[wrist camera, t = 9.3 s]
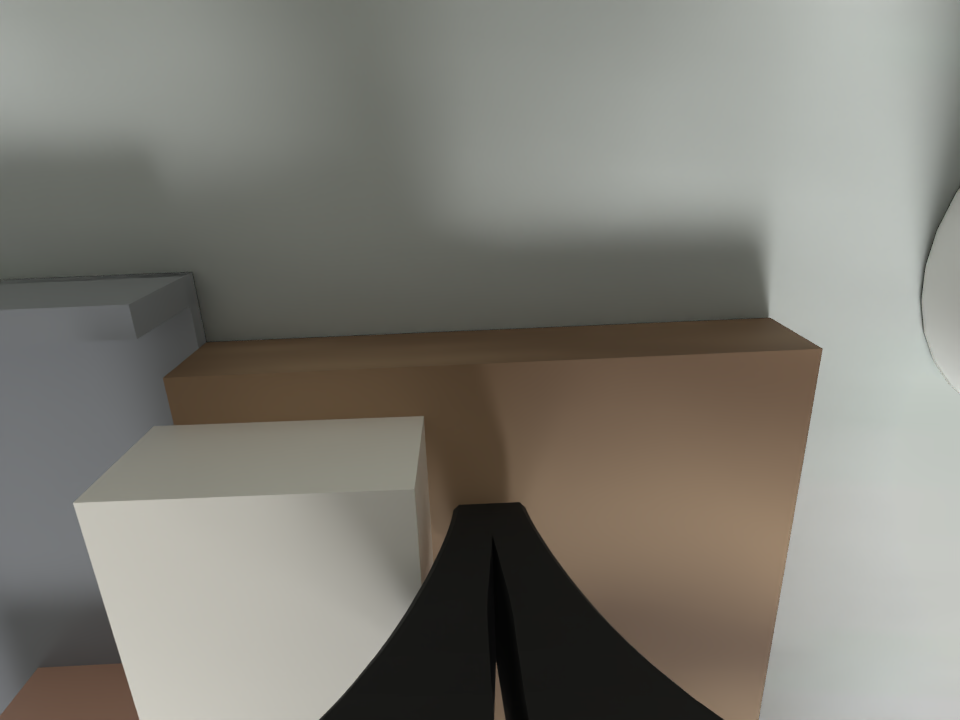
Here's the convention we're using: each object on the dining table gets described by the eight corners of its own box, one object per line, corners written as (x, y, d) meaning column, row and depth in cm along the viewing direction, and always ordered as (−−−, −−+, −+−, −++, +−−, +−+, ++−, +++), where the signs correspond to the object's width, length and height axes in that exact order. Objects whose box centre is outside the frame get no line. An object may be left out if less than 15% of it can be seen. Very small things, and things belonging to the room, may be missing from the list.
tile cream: (437, 625, 13) (432, 732, 11) (204, 635, 13) (147, 746, 11) (423, 415, 11) (414, 488, 9) (153, 426, 11) (73, 502, 9)
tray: (306, 830, 18) (283, 932, 16) (3, 846, 18) (-65, 953, 16) (192, 271, 12) (128, 304, 10) (-262, 290, 12) (-435, 328, 10)
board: (707, 773, 18) (736, 847, 16) (299, 795, 18) (280, 874, 16) (770, 317, 13) (821, 348, 11) (206, 341, 13) (162, 377, 11)
